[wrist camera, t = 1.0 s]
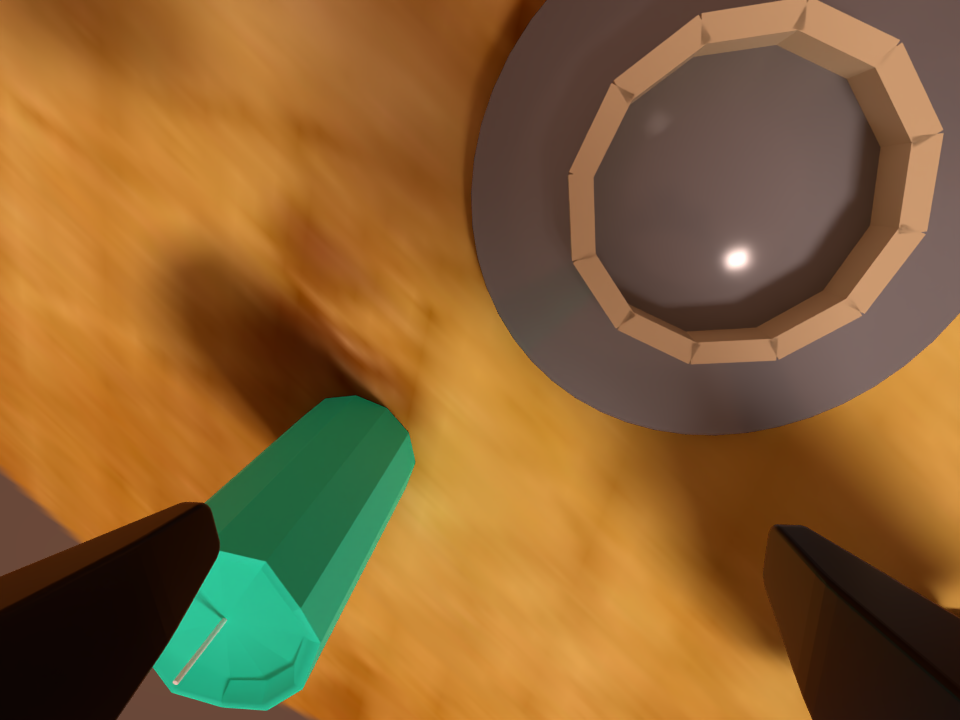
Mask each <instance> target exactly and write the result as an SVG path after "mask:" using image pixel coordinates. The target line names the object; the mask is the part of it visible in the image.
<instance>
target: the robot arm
mask: <svg viewBox="0 0 960 720" xmlns="http://www.w3.org/2000/svg"><path fill="white" fill-rule="evenodd" d="M219 551H220V540H219V536H218V532H217V529H216V525H215V521H214V517H213V514H212V510H211V508H210V507H209V506H208V505H207V504H205V503H198V502H183V503H179V504H177V505H174V506H172V507H169V508H167V509H165V510H162V511H160V512H157V513H155V514H152V515H150V516H147V517H145V518H143V519H140V520H138V521H135V522H133V523H130V524H128V525H125V526H123V527H120V528H118V529H116V530H113V531H111V532H108V533H106V534H103V535H101V536H98V537H96V538H94V539H91V540H89V541H86V542H84V543H81V544H79V545H76V546H74V547H72V548H69V549H67V550H64V551H62V552H59V553H57V554H54V555H52V556H50V557H47V558H45V559H42V560H40V561H37V562H35V563H32V564H30V565H28V566H25V567H23V568H20V569H18V570H15V571H13V572H11V573H8V574H5V575H3V576H1V577H0V720H117V719H118V717H119V716H120V714H121V713H122V711H123V710H124V708H125V707H126V705H127V704H128V703H129V701H130V700H131V698H132V697H133V695H134V694H135V692H136V691H137V689H138V688H139V686H140V685H141V683H142V682H143V681H144V679H145V678H146V676H147V675H148V673H149V672H150V670H151V669H152V667H153V666H154V664H155V663H156V661H157V660H158V658H159V657H160V655H161V654H162V652H163V651H164V649H165V648H166V646H167V645H168V643H169V641H170V640H171V638H172V636H173V635H174V633H175V631H176V630H177V628H178V626H179V624H180V623H181V621H182V619H183V617H184V616H185V614H186V612H187V610H188V609H189V607H190V605H191V603H192V602H193V600H194V598H195V596H196V594H197V593H198V591H199V589H200V587H201V586H202V584H203V582H204V580H205V579H206V577H207V575H208V573H209V572H210V570H211V568H212V566H213V564H214V563H215V561H216V559H217V557H218V554H219ZM763 579H764V585H765V589H766V592H767V595H768V598H769V601H770V604H771V607H772V610H773V613H774V615H775V618H776V621H777V624H778V627H779V630H780V633H781V636H782V639H783V642H784V645H785V648H786V651H787V654H788V657H789V659H790V662H791V665H792V668H793V671H794V674H795V677H796V680H797V683H798V685H799V688H800V691H801V694H802V696H803V699H804V701H805V703H806V706H807V708H808V710H809V713H810V715H811V717H812V720H960V618H959V617H958V616H956V615H954V614H953V613H951V612H949V611H948V610H946V609H944V608H942V607H941V606H939V605H937V604H936V603H934V602H932V601H931V600H929V599H927V598H926V597H924V596H922V595H920V594H919V593H917V592H915V591H914V590H912V589H910V588H909V587H907V586H905V585H904V584H902V583H900V582H898V581H897V580H895V579H893V578H892V577H890V576H888V575H887V574H885V573H883V572H882V571H880V570H878V569H876V568H875V567H873V566H871V565H870V564H868V563H866V562H865V561H863V560H861V559H860V558H858V557H856V556H855V555H853V554H851V553H849V552H848V551H846V550H844V549H843V548H841V547H839V546H838V545H836V544H834V543H833V542H831V541H829V540H827V539H826V538H824V537H822V536H821V535H819V534H817V533H816V532H814V531H812V530H811V529H809V528H807V527H805V526H801V525H778V524H777V525H774V526H773V527H771V529H770V531H769V534H768V541H767V548H766V554H765V561H764V568H763Z"/></svg>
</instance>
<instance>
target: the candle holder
mask: <svg viewBox="0 0 960 720" xmlns="http://www.w3.org/2000/svg"><path fill="white" fill-rule="evenodd" d="M471 199H472V225H473V232H474V238H475V244H476V250H477V256H478V260H479V264H480V267H481V270H482V274H483V277H484V280H485V284H486V287H487V289H488V291H489V294H490V296H491V298H492V300H493V303H494V305H495V307H496V309H497V312H498V314H499V316H500V317H501V319H502V321H503V322H504V324H505V325H506V327H507V329H508V330H509V332H510V334H511V335H512V337H513V339H514V340H515V341H516V342H517V344H518V345H519V346H520V347H521V349H522V350H523V351H524V352H525V353H526V355H527V356H528V357H529V358H530V360H531V361H532V362H533V363H534V364H535V365H536V366H537V367H538V368H539V369H540V370H541V371H543V372H544V373H545V374H546V375H547V376H548V377H549V378H550V379H551V380H552V381H553V382H555V383H556V384H557V385H559V386H560V387H561V388H563V389H564V390H565V391H567V392H568V393H570V394H571V395H572V396H574V397H575V398H577V399H579V400H580V401H582V402H584V403H586V404H588V405H589V406H591V407H593V408H595V409H597V410H598V411H600V412H603V413H605V414H608V415H610V416H613V417H615V418H618V419H620V420H622V421H625V422H628V423H631V424H635V425H639V426H643V427H646V428H650V429H654V430H659V431H666V432H673V433H680V434H692V435H725V434H738V433H749V432H754V431H759V430H765V429H770V428H775V427H780V426H783V425H787V424H790V423H793V422H797V421H800V420H803V419H807V418H810V417H813V416H815V415H817V414H820V413H822V412H825V411H827V410H829V409H832V408H834V407H837V406H839V405H841V404H844V403H845V402H847V401H849V400H851V399H853V398H855V397H856V396H858V395H860V394H862V393H864V392H865V391H867V390H869V389H871V388H873V387H875V386H876V385H877V384H879V383H880V382H882V381H883V380H885V379H886V378H888V377H889V376H891V375H892V374H893V373H895V372H896V371H898V370H899V369H901V368H902V367H904V366H905V365H906V364H907V363H908V362H910V361H911V360H912V359H913V358H914V357H915V356H917V355H918V354H919V353H920V352H921V351H922V350H924V349H925V348H926V347H927V346H928V345H929V344H931V343H932V342H933V341H934V340H935V339H936V338H937V337H938V336H939V335H940V333H941V332H942V331H943V330H944V329H945V328H946V327H947V326H948V325H949V324H950V323H951V322H952V321H953V320H954V319H955V318H956V316H957V315H958V314H959V313H960V0H547V1H546V2H545V3H544V4H543V6H542V7H541V8H540V9H539V11H538V12H537V13H536V14H535V16H534V17H533V18H532V19H531V21H530V22H529V24H528V26H527V27H526V29H525V30H524V32H523V34H522V35H521V37H520V38H519V40H518V42H517V43H516V45H515V46H514V48H513V50H512V51H511V53H510V55H509V57H508V59H507V61H506V63H505V65H504V67H503V69H502V71H501V74H500V76H499V78H498V80H497V82H496V84H495V86H494V88H493V91H492V94H491V97H490V100H489V103H488V106H487V109H486V112H485V115H484V118H483V121H482V124H481V129H480V133H479V138H478V143H477V148H476V153H475V158H474V167H473V179H472V191H471Z"/></svg>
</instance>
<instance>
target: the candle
mask: <svg viewBox="0 0 960 720" xmlns="http://www.w3.org/2000/svg"><path fill="white" fill-rule="evenodd" d="M414 465H415V458H414V454H413V449H412V445H411V440H410V436H409V433H408V431H407V430H406V429H405V428H404V427H403V426H402V425H401V423H400V422H399V421H398V420H397V419H396V418H395V417H394V415H393V414H392V413H391V412H390V411H389V410H388V409H387V408H386V407H383V406H381V405H378V404H376V403H373V402H371V401H369V400H366V399H364V398H361V397H359V396H357V395H355V396H345V397H335V398H325V399H324V400H323V401H322V402H320V403H319V404H318V405H317V406H315V407H314V408H313V409H312V410H310V411H309V412H308V413H307V414H305V415H304V416H303V417H302V418H301V419H300V420H298V421H297V422H296V423H295V424H294V425H293V426H292V427H290V428H289V429H288V430H287V431H286V432H285V433H284V434H282V435H281V436H280V437H279V438H278V439H277V440H276V441H274V442H273V443H272V444H271V445H270V446H269V447H268V448H266V449H265V450H264V451H263V452H262V453H261V454H260V455H259V456H257V457H256V458H255V459H254V460H253V461H252V462H251V463H249V464H248V465H247V466H246V467H245V468H244V469H243V470H241V471H240V472H239V473H238V474H237V475H236V476H235V477H233V478H232V479H231V480H230V481H229V482H228V483H227V484H226V485H224V486H223V487H222V488H221V489H220V490H219V491H218V492H216V493H215V494H214V495H213V496H212V497H211V498H210V499H208V500H207V501H206V502H205V504H207V505H208V506H209V507H210V508H211V510H212V514H213V517H214V521H215V525H216V529H217V532H218V536H219V540H220V551H219V554H218V557H217V559H216V561H215V563H214V564H213V566H212V568H211V570H210V572H209V573H208V575H207V577H206V579H205V580H204V582H203V584H202V586H201V587H200V589H199V591H198V593H197V594H196V596H195V598H194V600H193V602H192V603H191V605H190V607H189V609H188V610H187V612H186V614H185V616H184V617H183V619H182V621H181V623H180V624H179V626H178V628H177V630H176V631H175V633H174V635H173V636H172V638H171V640H170V641H169V643H168V645H167V646H166V648H165V649H164V651H163V652H162V654H161V655H160V657H159V658H158V660H157V661H156V663H155V664H154V666H153V668H154V670H155V671H156V672H157V673H158V675H159V676H160V678H161V679H162V680H163V682H164V683H165V684H166V686H167V687H168V688H169V690H170V691H171V692H172V693H175V694H178V695H182V696H185V697H189V698H192V699H196V700H199V701H202V702H206V703H209V704H213V705H216V706H219V707H226V708H239V709H253V710H269V709H270V708H272V707H274V706H275V705H277V704H279V703H280V702H282V701H284V700H285V699H287V698H289V697H290V696H292V695H294V694H295V693H297V692H299V691H300V690H302V689H303V687H304V685H305V683H306V681H307V680H308V678H309V676H310V674H311V672H312V670H313V668H314V666H315V664H316V662H317V660H318V658H319V656H320V654H321V652H322V650H323V648H324V646H325V644H326V642H327V640H328V639H329V637H330V635H331V633H332V631H333V629H334V627H335V625H336V623H337V621H338V619H339V617H340V615H341V613H342V611H343V609H344V607H345V605H346V603H347V601H348V599H349V598H350V596H351V594H352V592H353V590H354V588H355V586H356V584H357V582H358V580H359V578H360V576H361V574H362V572H363V570H364V568H365V566H366V564H367V562H368V560H369V558H370V557H371V555H372V553H373V551H374V549H375V547H376V545H377V543H378V541H379V539H380V537H381V535H382V533H383V531H384V529H385V527H386V525H387V523H388V521H389V519H390V517H391V516H392V514H393V512H394V510H395V508H396V506H397V504H398V502H399V500H400V498H401V496H402V494H403V492H404V490H405V488H406V486H407V483H408V481H409V478H410V475H411V473H412V470H413V467H414Z"/></svg>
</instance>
